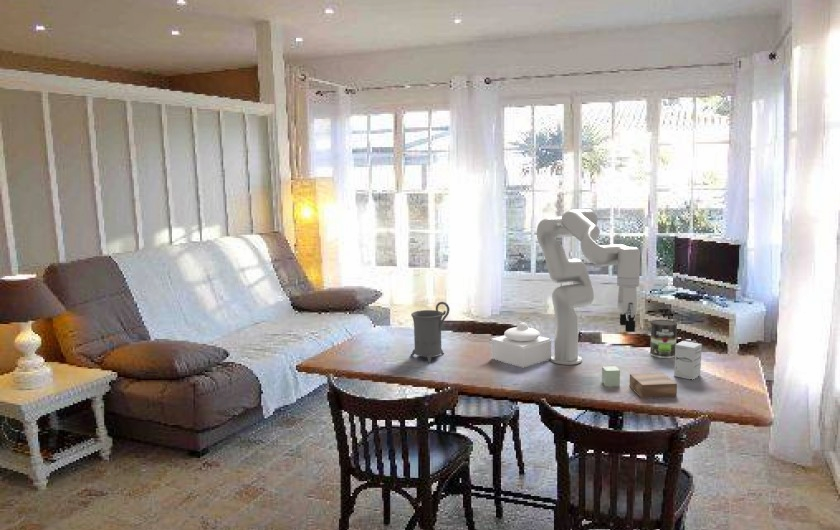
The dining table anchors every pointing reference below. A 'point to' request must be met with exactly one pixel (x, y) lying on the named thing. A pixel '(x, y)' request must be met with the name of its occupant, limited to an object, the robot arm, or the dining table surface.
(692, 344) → the supplement box
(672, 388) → the walnut box
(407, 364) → the dining table surface
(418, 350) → the mug
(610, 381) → the green block
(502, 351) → the white lidded container
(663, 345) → the coffee can
